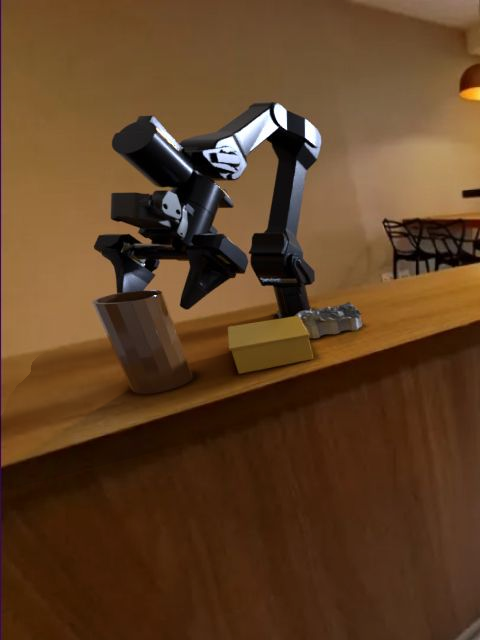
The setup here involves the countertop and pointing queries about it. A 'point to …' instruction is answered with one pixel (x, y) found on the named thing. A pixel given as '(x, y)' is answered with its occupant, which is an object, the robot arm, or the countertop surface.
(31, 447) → the countertop surface
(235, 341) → the yellow block
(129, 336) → the brown faceted cup
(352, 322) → the grey knobbed block
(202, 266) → the robot arm
